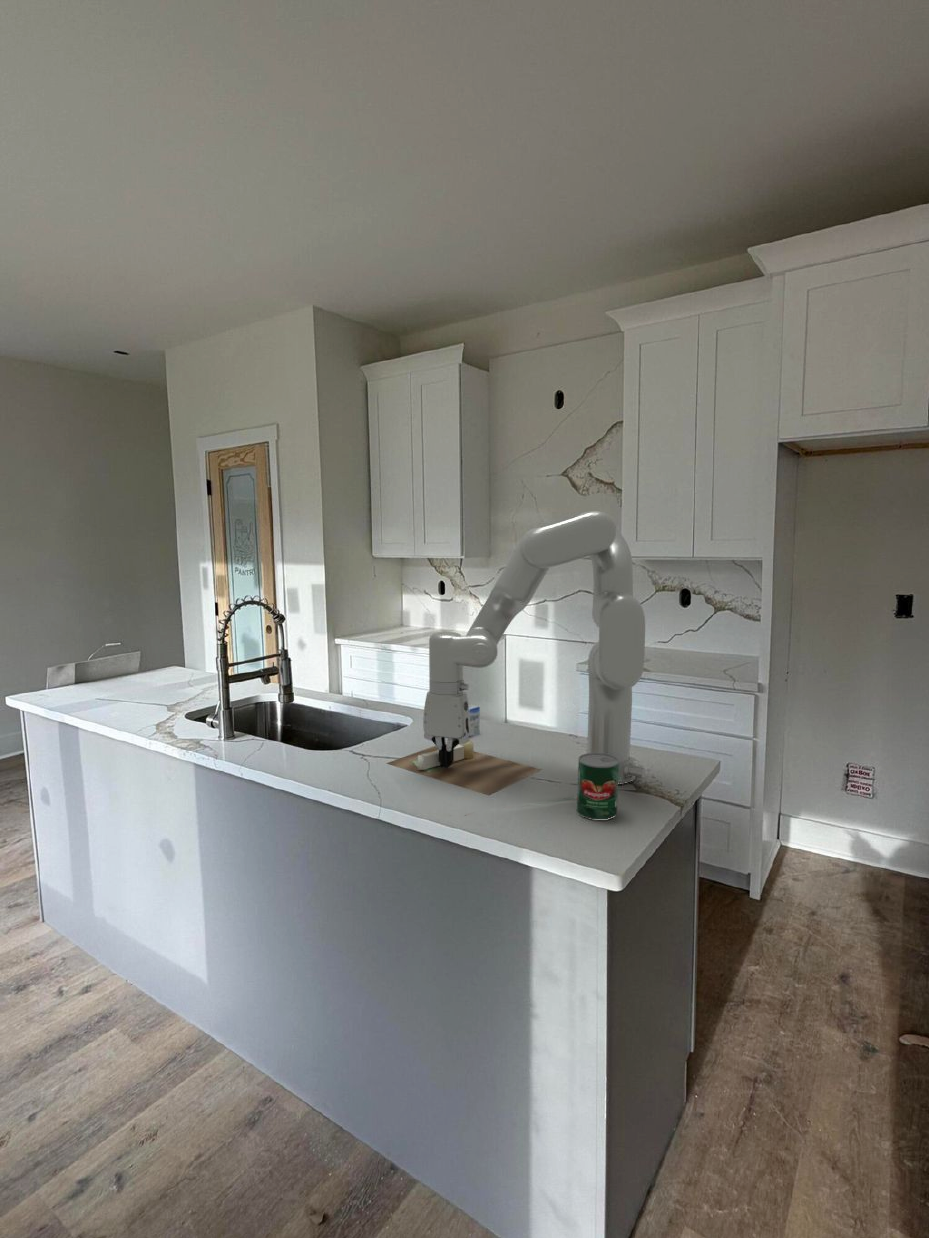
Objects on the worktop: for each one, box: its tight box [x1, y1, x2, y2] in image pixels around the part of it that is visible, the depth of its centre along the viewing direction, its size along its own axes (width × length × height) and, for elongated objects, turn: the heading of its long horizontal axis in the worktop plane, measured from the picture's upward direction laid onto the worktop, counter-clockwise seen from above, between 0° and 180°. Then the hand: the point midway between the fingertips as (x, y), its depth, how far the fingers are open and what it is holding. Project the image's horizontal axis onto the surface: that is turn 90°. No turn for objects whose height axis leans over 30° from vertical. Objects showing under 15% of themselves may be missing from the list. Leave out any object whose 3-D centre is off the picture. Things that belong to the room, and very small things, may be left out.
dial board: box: [386, 743, 542, 796], centre depth 159 cm, size 30×20×1 cm, turn 51°
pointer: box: [418, 740, 474, 770], centre depth 160 cm, size 16×3×3 cm, turn 130°
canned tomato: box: [576, 753, 619, 819], centre depth 136 cm, size 8×8×11 cm
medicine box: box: [468, 704, 481, 738], centre depth 183 cm, size 8×4×9 cm, turn 143°
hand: (446, 765), depth 157 cm, fingers closed
